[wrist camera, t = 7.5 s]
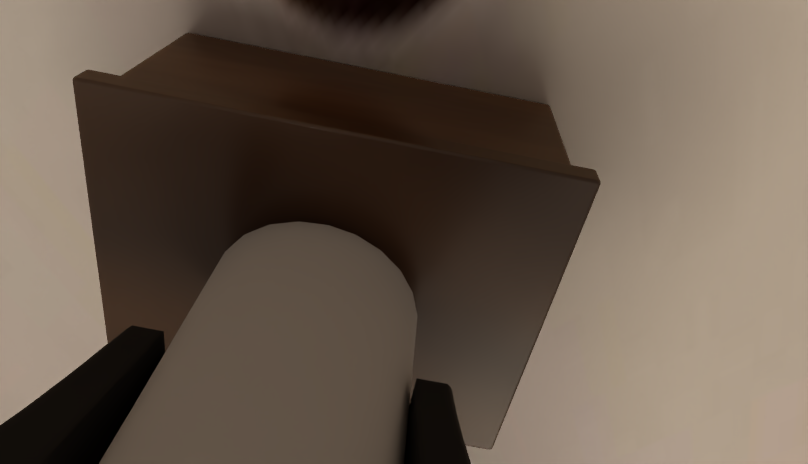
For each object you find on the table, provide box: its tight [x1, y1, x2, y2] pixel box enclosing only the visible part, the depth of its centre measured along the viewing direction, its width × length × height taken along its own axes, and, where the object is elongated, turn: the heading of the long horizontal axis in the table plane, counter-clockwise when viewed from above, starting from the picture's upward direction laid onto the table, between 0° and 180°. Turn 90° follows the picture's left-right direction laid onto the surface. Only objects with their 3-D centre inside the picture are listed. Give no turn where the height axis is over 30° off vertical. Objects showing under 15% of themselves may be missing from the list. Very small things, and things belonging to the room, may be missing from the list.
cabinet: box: [73, 33, 600, 450], centre depth 16 cm, size 9×11×5 cm
